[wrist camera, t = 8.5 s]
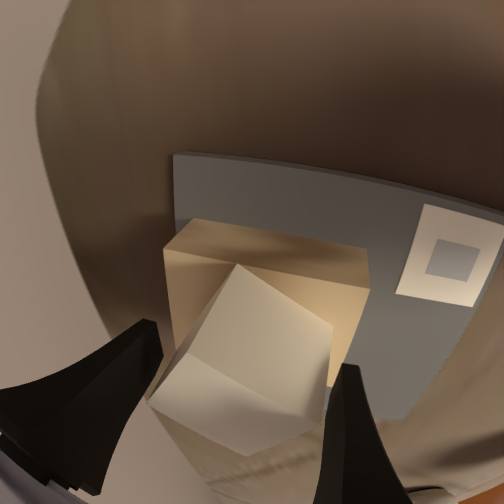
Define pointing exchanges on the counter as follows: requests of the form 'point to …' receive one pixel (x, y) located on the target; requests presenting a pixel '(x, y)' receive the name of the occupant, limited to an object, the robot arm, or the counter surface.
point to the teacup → (432, 497)
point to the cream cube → (248, 368)
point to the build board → (378, 254)
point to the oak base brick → (268, 276)
